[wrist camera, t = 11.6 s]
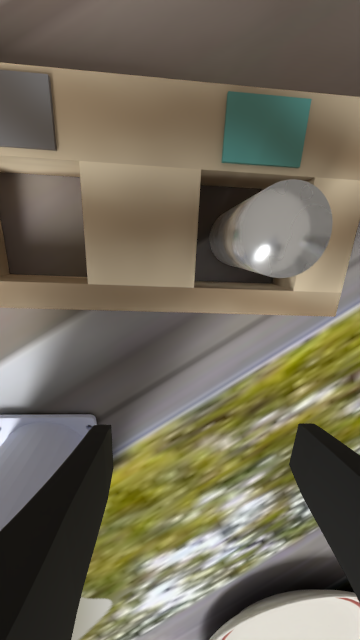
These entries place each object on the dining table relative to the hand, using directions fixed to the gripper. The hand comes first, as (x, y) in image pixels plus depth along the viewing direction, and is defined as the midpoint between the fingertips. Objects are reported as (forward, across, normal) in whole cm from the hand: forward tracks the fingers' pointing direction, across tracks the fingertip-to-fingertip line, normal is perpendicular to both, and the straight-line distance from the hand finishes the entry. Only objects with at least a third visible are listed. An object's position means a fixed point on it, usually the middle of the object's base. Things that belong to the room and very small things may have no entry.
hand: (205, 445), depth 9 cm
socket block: (+9, +3, -9) cm, 13 cm away
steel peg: (+9, -3, -8) cm, 13 cm away
